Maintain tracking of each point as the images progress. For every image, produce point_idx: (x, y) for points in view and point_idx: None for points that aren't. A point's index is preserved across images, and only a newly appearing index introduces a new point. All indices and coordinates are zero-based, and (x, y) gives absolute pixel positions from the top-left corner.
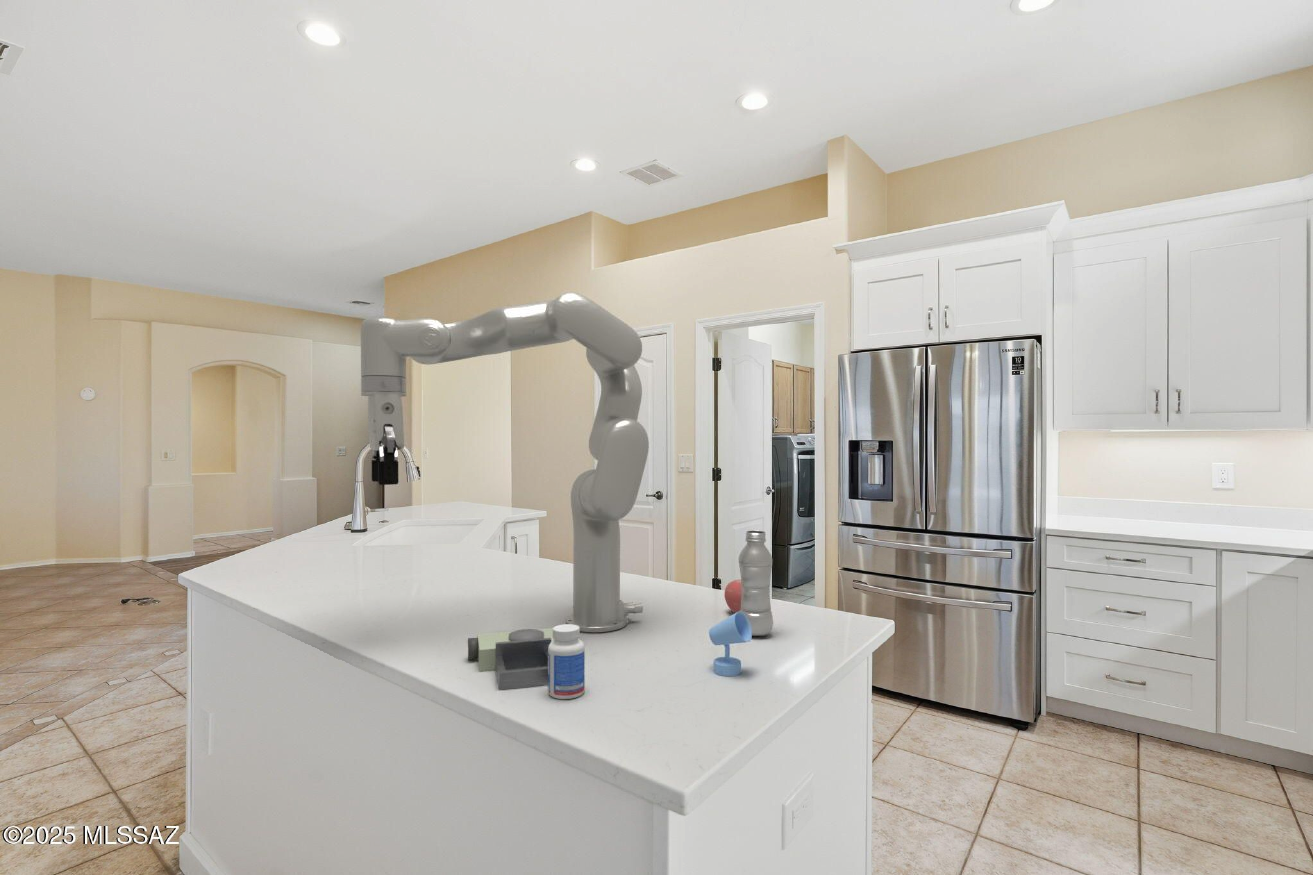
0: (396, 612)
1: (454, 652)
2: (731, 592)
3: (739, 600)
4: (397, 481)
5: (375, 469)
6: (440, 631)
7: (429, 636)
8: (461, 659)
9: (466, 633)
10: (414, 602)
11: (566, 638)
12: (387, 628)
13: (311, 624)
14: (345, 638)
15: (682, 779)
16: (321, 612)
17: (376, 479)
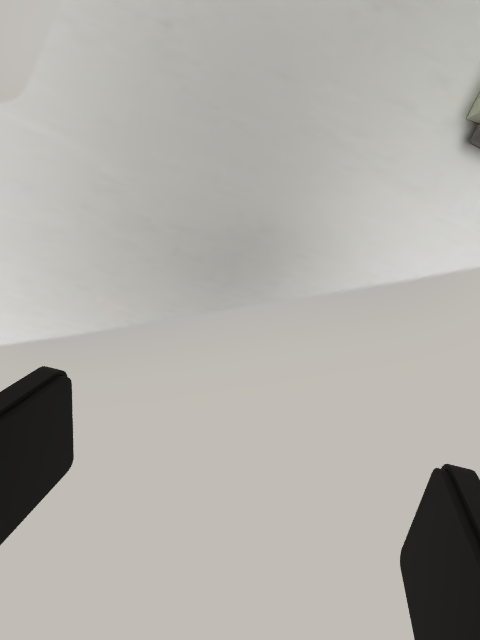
0: (71, 167)
1: (416, 157)
2: None
3: None
4: (477, 484)
5: (16, 513)
6: (257, 131)
7: (277, 164)
8: (470, 161)
9: (307, 84)
10: (7, 106)
11: None
12: (175, 217)
13: (83, 317)
14: (197, 296)
15: None
16: (14, 284)
17: (67, 454)
